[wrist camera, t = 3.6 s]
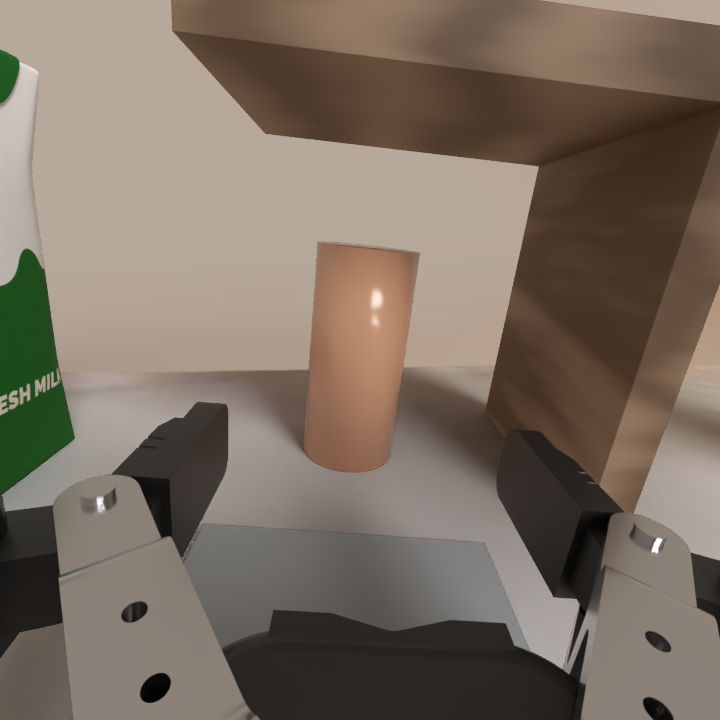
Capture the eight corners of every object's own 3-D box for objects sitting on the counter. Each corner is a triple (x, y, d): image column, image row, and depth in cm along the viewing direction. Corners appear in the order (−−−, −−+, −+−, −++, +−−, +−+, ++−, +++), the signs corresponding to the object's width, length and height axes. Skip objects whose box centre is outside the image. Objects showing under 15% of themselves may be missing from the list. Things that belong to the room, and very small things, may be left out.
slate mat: (482, 551, 18) (484, 542, 17) (581, 799, 10) (587, 787, 10) (204, 532, 17) (204, 523, 17) (84, 780, 9) (81, 767, 9)
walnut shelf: (509, 414, 32) (576, 136, 26) (621, 545, 19) (812, 38, 13) (258, 392, 31) (266, 97, 25) (189, 515, 18) (169, -53, 12)
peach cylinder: (386, 429, 28) (411, 249, 24) (394, 475, 22) (428, 256, 19) (308, 423, 27) (321, 240, 24) (298, 468, 22) (313, 243, 18)
